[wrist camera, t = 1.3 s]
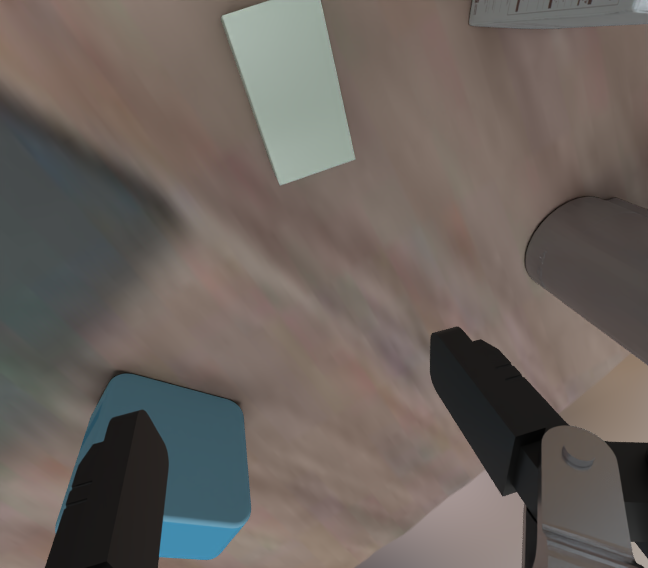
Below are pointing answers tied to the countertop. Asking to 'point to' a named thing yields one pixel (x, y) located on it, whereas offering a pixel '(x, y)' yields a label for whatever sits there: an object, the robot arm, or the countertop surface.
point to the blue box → (186, 461)
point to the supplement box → (557, 13)
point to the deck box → (291, 85)
